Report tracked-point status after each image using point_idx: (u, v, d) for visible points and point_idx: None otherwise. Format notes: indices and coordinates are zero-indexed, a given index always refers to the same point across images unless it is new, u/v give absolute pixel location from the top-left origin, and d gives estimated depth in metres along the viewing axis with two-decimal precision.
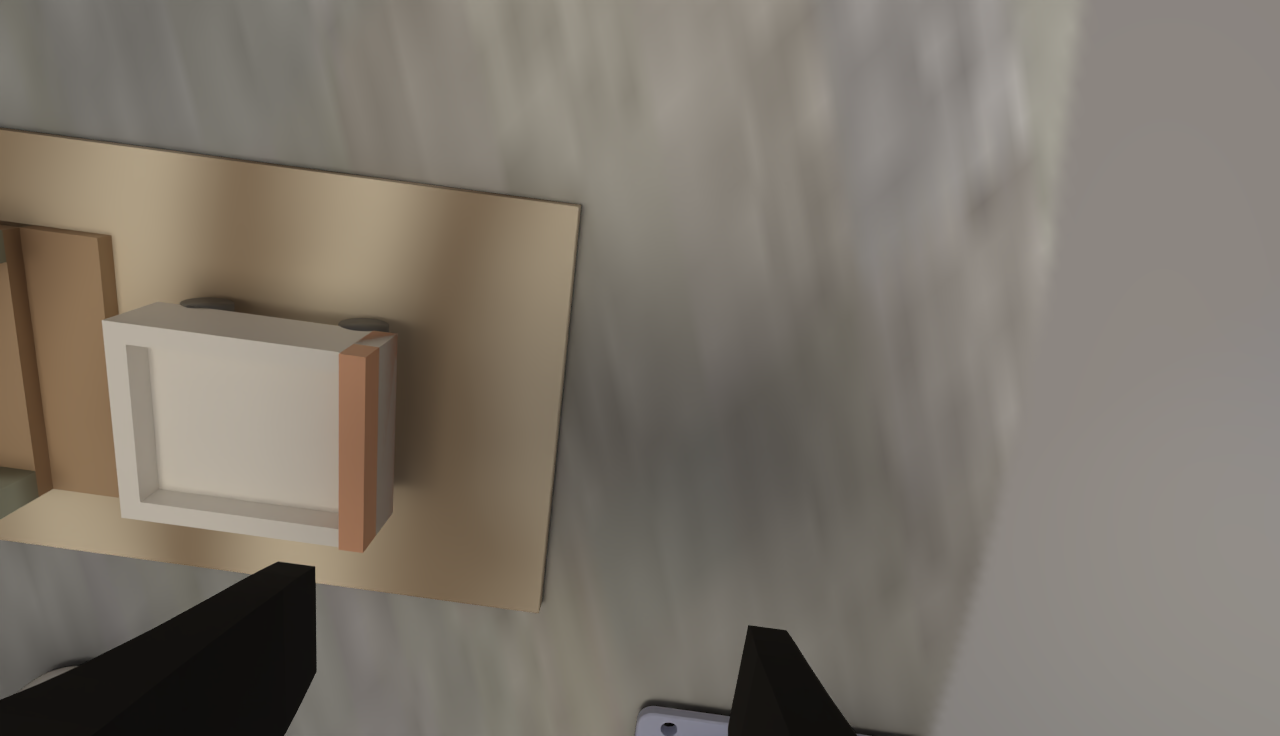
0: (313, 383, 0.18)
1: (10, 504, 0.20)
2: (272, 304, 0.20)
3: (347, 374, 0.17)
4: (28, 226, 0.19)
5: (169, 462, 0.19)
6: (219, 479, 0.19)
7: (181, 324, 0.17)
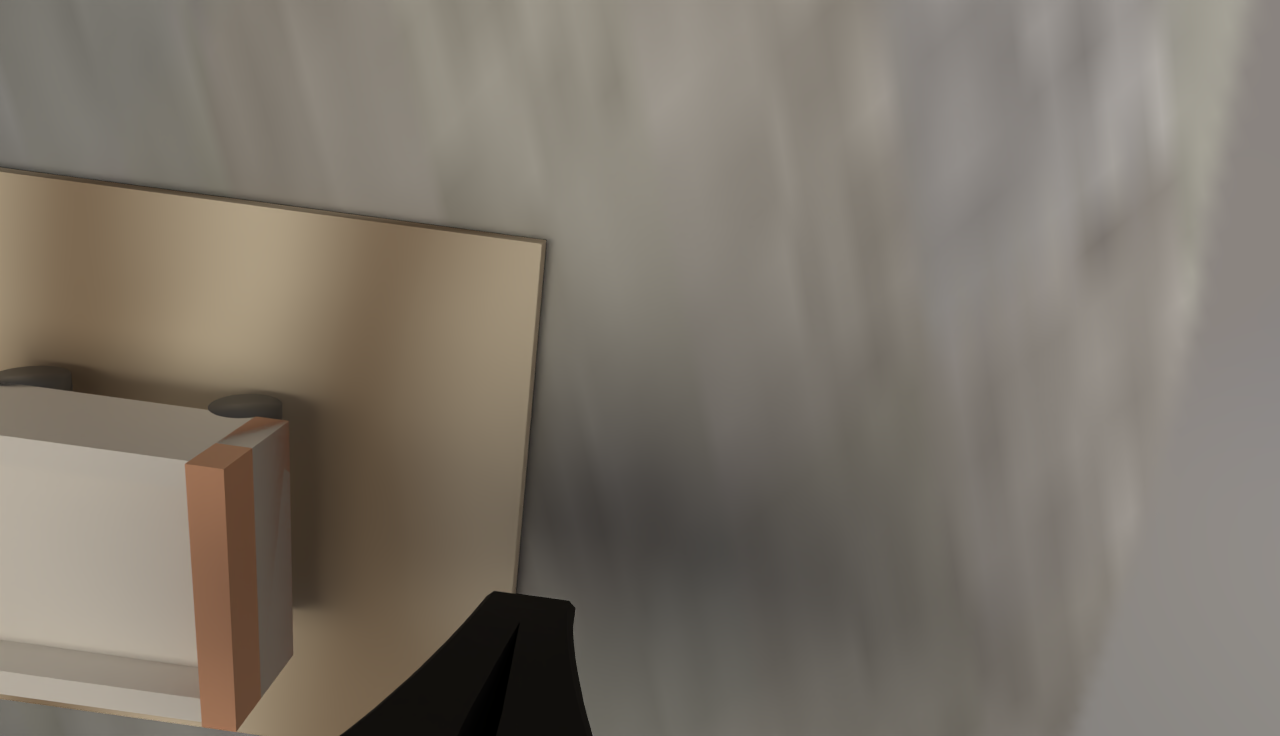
0: (162, 496, 0.12)
1: None
2: (129, 373, 0.15)
3: (199, 492, 0.12)
4: None
5: None
6: (41, 622, 0.13)
7: None
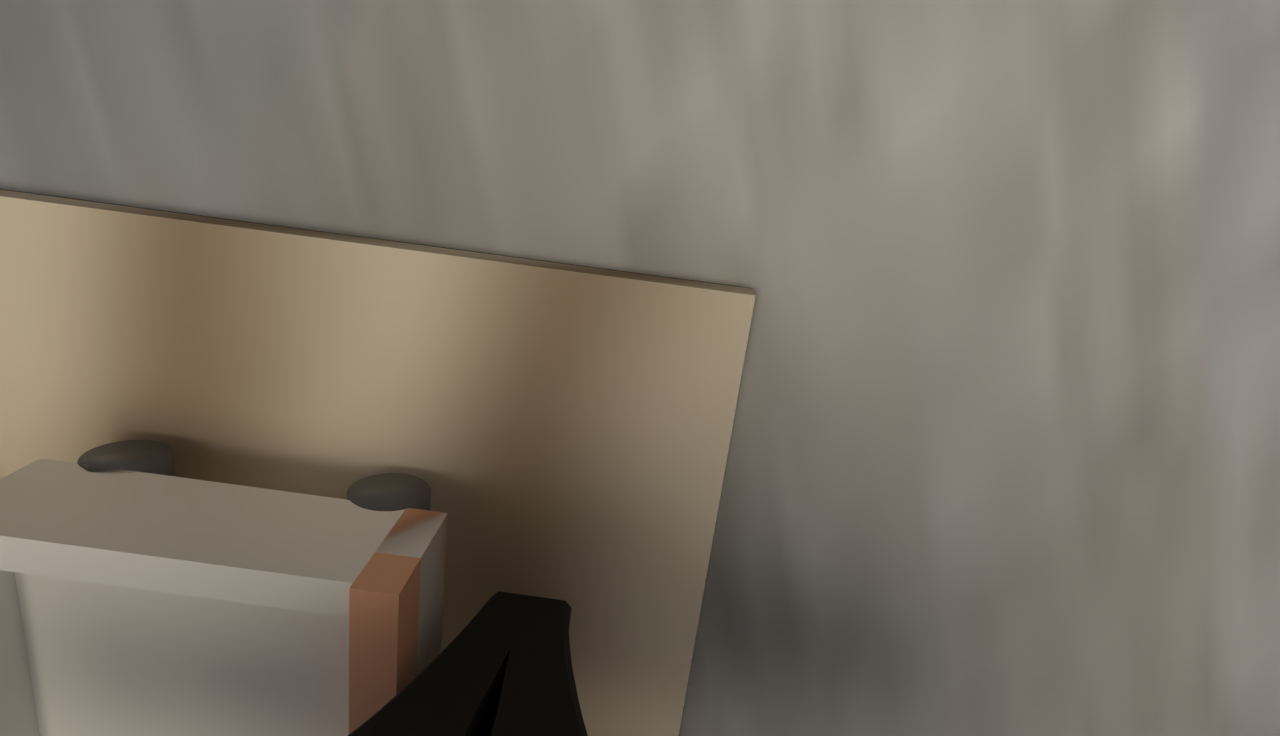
0: (303, 614, 0.10)
1: None
2: (240, 447, 0.12)
3: (365, 622, 0.09)
4: None
5: (60, 732, 0.11)
6: None
7: (65, 522, 0.10)
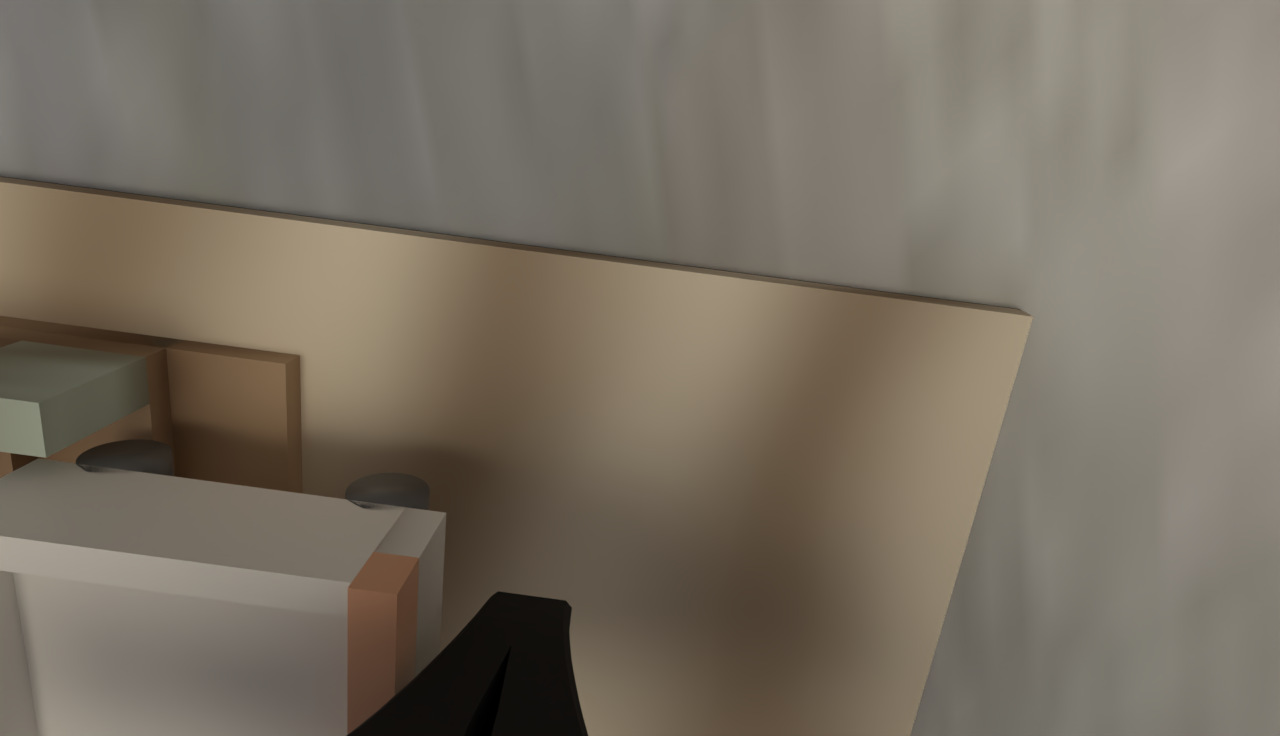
0: (302, 614, 0.10)
1: None
2: (535, 454, 0.13)
3: (363, 622, 0.09)
4: (177, 344, 0.13)
5: (58, 732, 0.11)
6: None
7: (63, 522, 0.10)
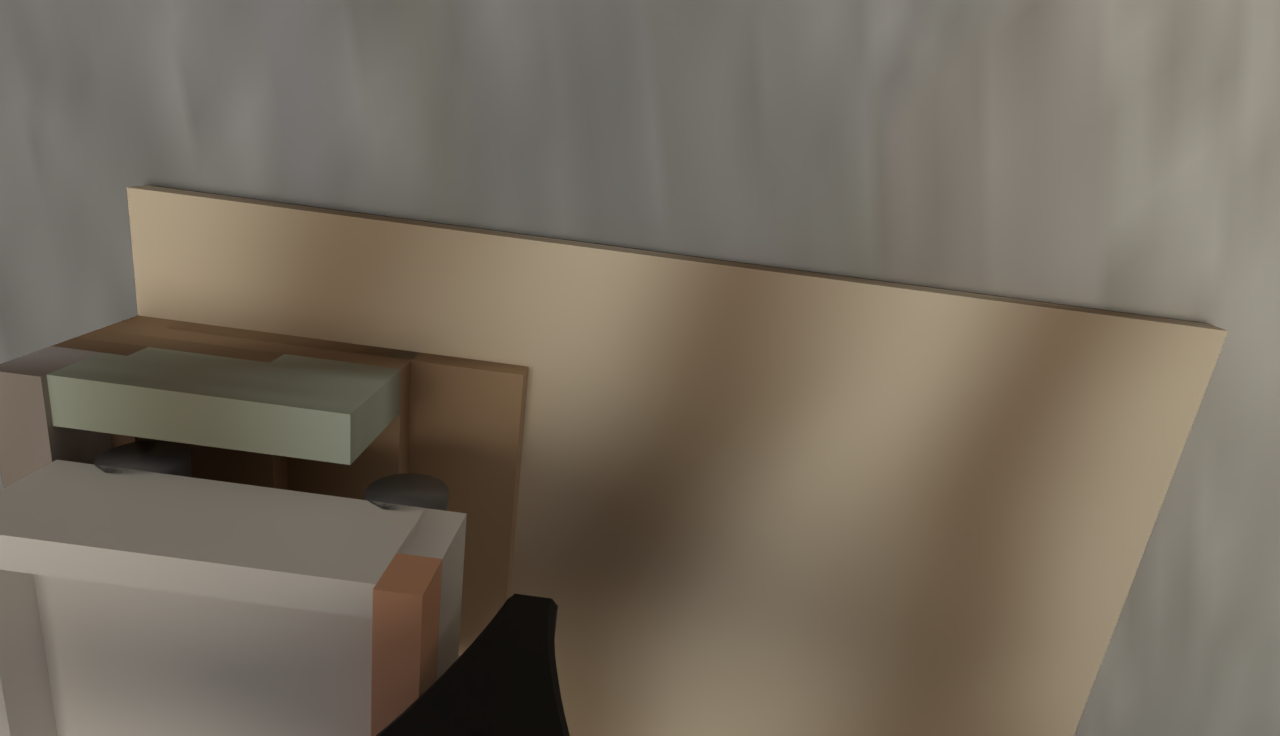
0: (324, 615, 0.10)
1: None
2: (745, 459, 0.14)
3: (388, 623, 0.09)
4: (416, 356, 0.13)
5: (78, 733, 0.11)
6: None
7: (85, 524, 0.09)
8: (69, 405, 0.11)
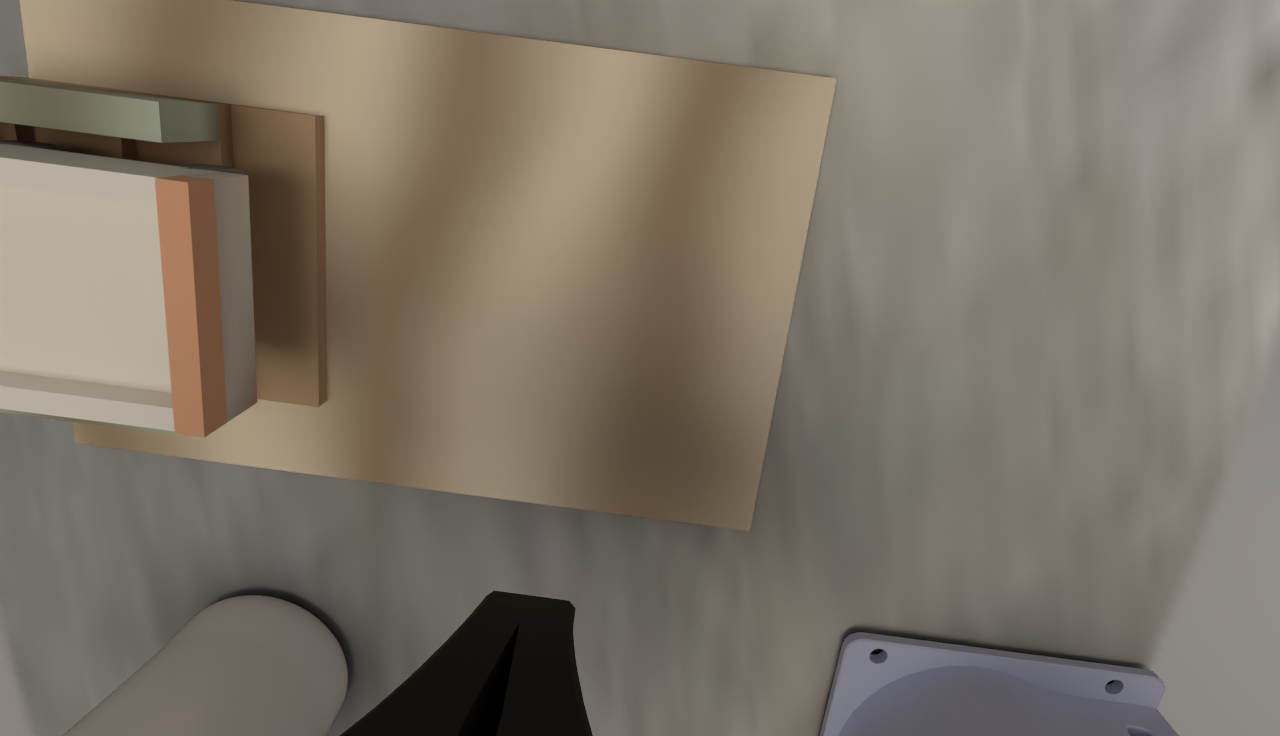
0: (137, 227, 0.15)
1: None
2: (493, 192, 0.18)
3: (167, 205, 0.14)
4: (237, 105, 0.18)
5: None
6: (35, 353, 0.15)
7: None
8: None
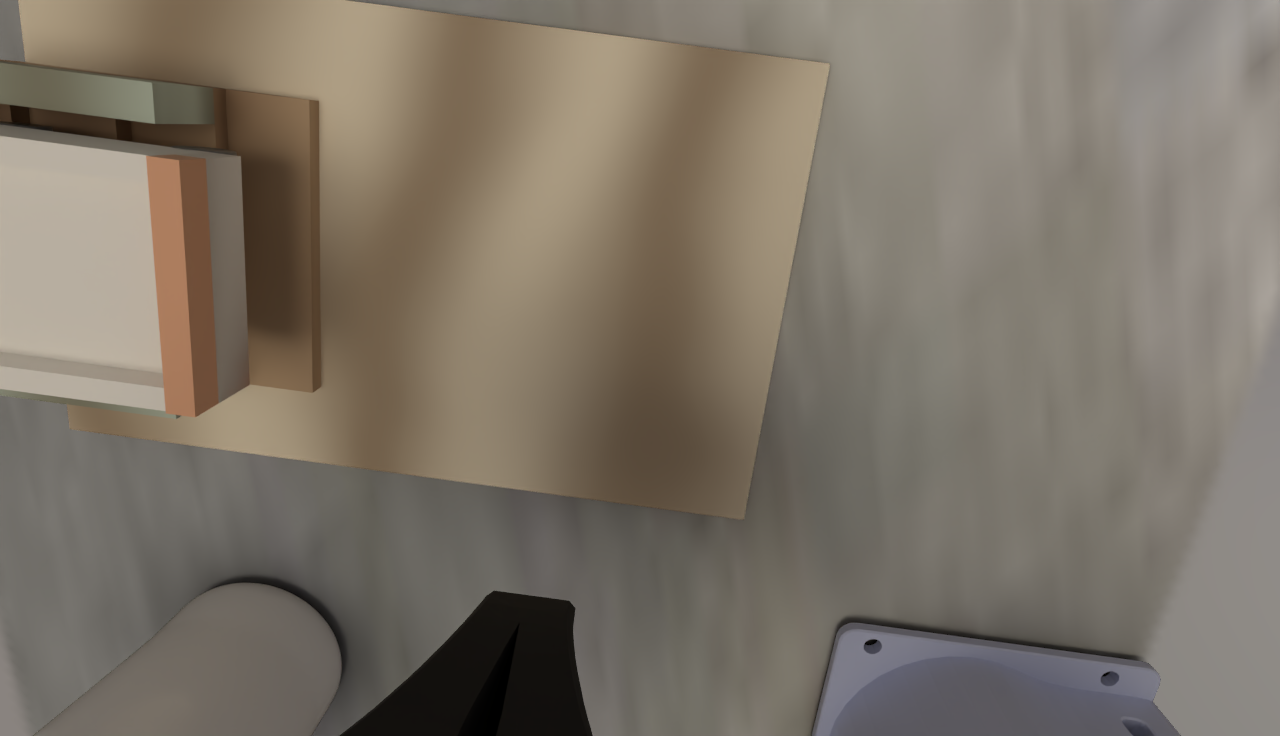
0: (129, 207, 0.15)
1: None
2: (487, 177, 0.18)
3: (158, 183, 0.14)
4: (232, 89, 0.18)
5: None
6: (27, 333, 0.15)
7: None
8: None
